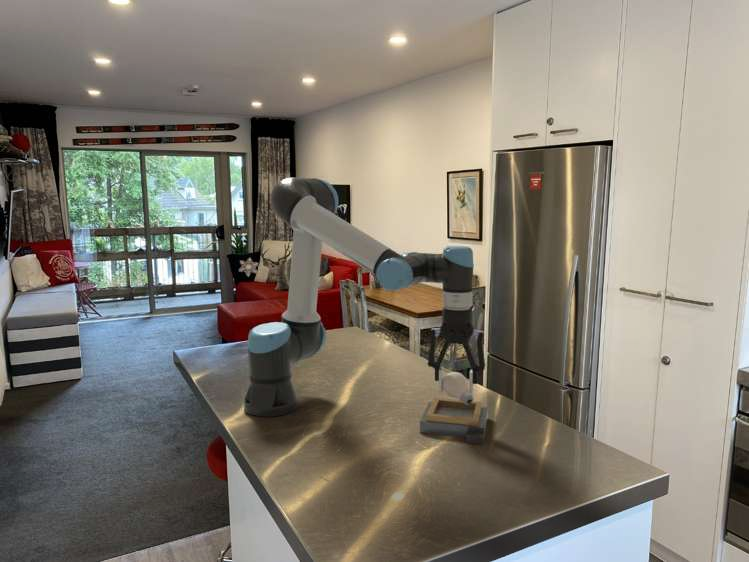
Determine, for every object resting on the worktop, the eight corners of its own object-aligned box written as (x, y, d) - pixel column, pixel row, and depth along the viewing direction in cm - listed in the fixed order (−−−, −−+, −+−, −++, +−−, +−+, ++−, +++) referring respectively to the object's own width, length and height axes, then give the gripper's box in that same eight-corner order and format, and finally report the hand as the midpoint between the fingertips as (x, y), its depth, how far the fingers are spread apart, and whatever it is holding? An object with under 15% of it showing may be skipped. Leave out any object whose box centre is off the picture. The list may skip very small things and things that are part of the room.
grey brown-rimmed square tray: (417, 437, 137) (417, 419, 137) (431, 407, 158) (431, 391, 157) (482, 444, 133) (483, 426, 133) (488, 412, 153) (489, 397, 153)
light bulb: (481, 387, 136) (459, 363, 146) (458, 395, 134) (437, 371, 144) (481, 408, 139) (459, 383, 149) (458, 416, 137) (437, 391, 147)
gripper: (415, 308, 139) (415, 395, 143) (496, 312, 134) (494, 402, 137) (421, 303, 147) (420, 386, 150) (498, 306, 141) (496, 392, 145)
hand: (455, 394), depth 144 cm, fingers closed on light bulb, 7 cm apart
